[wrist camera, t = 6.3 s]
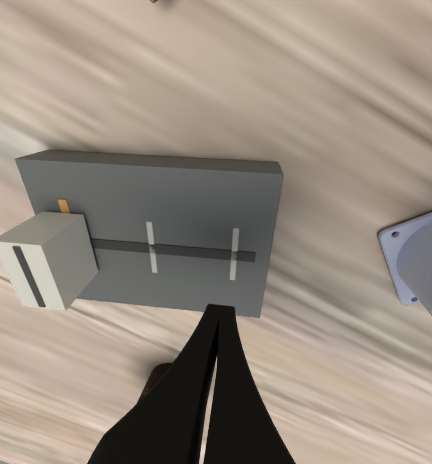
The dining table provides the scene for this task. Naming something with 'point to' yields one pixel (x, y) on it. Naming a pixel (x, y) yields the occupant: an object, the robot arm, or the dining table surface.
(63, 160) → the console
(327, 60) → the dining table surface
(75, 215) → the fader
